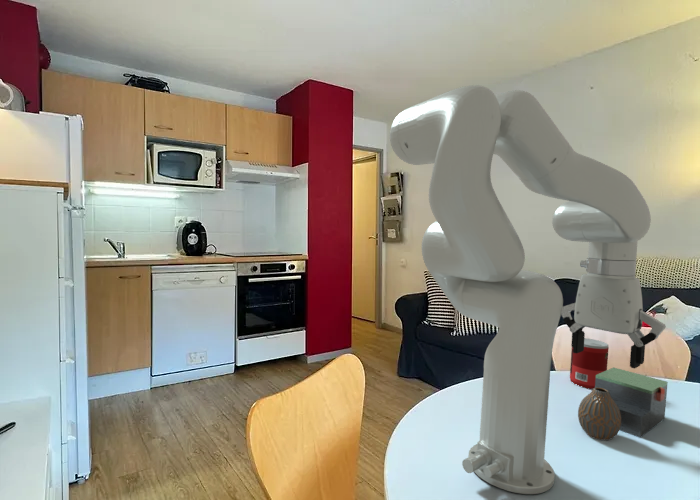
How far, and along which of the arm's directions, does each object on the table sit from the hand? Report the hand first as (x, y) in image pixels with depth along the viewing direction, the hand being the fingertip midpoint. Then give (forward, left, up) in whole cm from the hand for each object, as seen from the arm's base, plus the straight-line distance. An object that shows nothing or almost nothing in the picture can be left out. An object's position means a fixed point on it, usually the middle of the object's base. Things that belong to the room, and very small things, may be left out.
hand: (605, 358), depth 75 cm
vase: (-1, 0, -15) cm, 15 cm away
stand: (+12, 0, -15) cm, 19 cm away
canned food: (+26, +13, -15) cm, 33 cm away
